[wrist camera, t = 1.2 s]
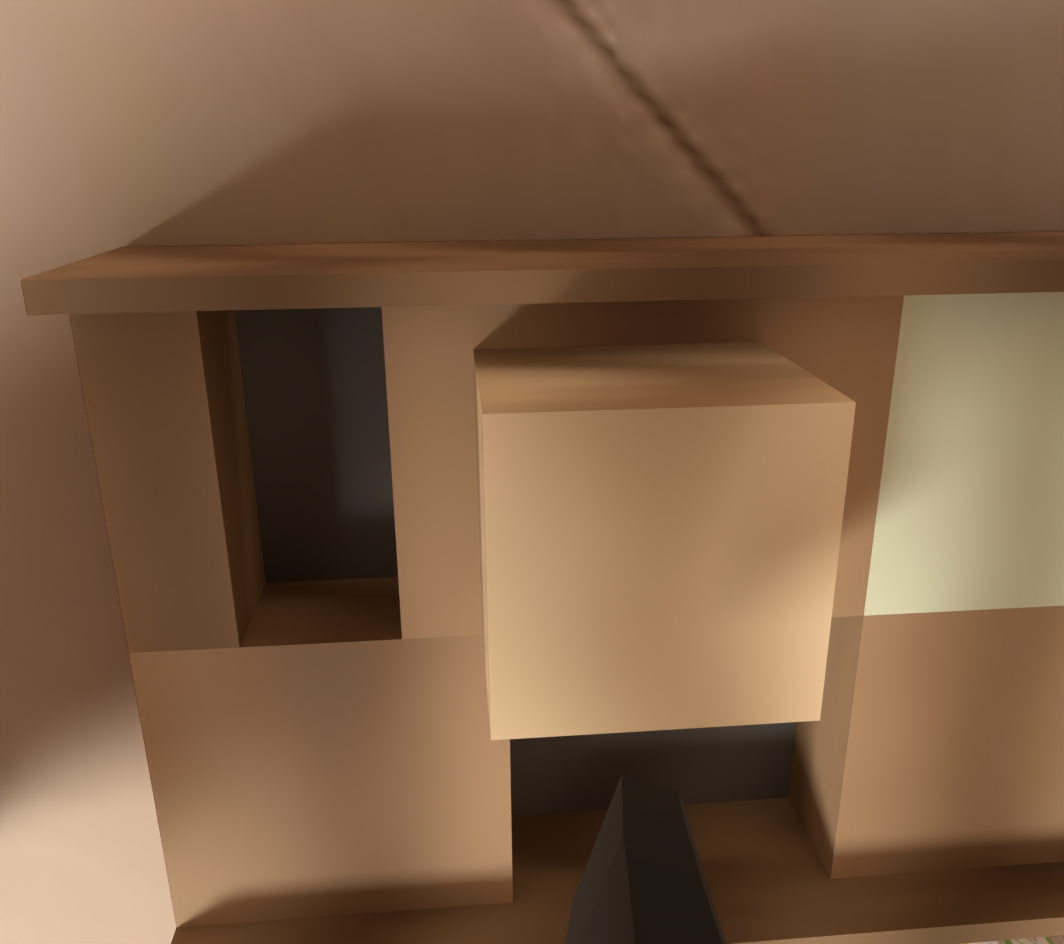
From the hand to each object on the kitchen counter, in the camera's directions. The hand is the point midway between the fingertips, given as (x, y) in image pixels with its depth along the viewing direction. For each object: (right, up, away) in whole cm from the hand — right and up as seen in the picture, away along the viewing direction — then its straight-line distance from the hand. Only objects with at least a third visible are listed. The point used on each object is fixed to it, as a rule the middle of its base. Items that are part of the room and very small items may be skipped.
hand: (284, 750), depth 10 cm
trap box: (+5, +1, +11) cm, 12 cm away
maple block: (+4, +3, +7) cm, 8 cm away
